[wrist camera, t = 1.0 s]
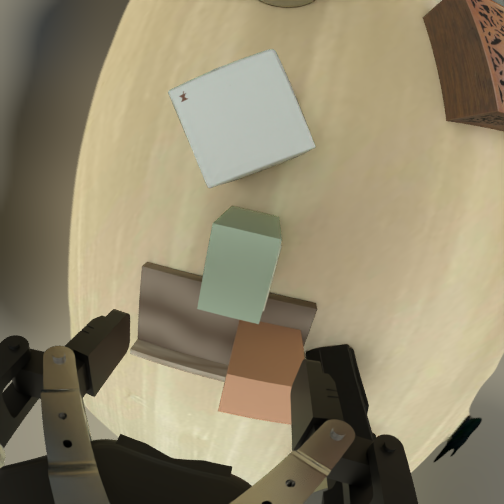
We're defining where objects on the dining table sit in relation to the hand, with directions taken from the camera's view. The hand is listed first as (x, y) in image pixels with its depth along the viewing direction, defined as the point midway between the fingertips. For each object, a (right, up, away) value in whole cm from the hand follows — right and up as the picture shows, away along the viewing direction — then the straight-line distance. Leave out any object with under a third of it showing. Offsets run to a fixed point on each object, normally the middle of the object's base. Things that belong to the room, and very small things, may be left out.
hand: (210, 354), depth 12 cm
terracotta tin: (+3, -6, +20) cm, 21 cm away
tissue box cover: (+37, +28, +10) cm, 47 cm away
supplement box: (+2, +16, +16) cm, 23 cm away
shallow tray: (-2, -4, +22) cm, 22 cm away
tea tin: (+1, +5, +19) cm, 20 cm away
